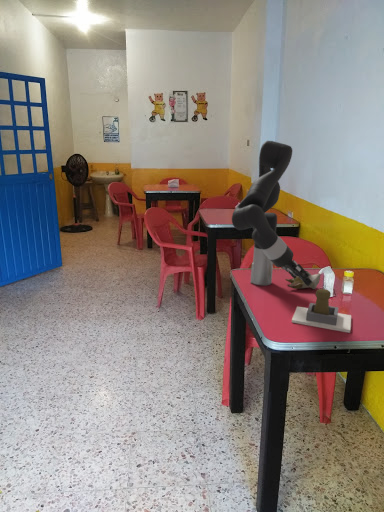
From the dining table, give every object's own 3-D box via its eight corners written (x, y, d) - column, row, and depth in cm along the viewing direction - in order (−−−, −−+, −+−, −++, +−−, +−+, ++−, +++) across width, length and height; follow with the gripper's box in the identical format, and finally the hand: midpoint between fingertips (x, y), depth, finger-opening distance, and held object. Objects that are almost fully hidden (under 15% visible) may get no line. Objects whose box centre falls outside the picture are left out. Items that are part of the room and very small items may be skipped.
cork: (329, 322, 143) (333, 293, 140) (312, 320, 144) (315, 291, 141) (328, 315, 149) (331, 288, 146) (311, 313, 150) (314, 286, 147)
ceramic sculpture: (322, 274, 173) (287, 273, 175) (321, 292, 175) (287, 292, 177) (318, 267, 183) (285, 267, 185) (317, 285, 185) (285, 284, 187)
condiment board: (291, 322, 144) (292, 312, 143) (297, 308, 157) (298, 299, 156) (349, 332, 137) (351, 322, 136) (350, 317, 150) (352, 307, 149)
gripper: (295, 247, 127) (322, 278, 133) (273, 237, 140) (298, 266, 146) (279, 264, 127) (307, 294, 133) (259, 253, 140) (285, 281, 146)
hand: (302, 280), depth 140 cm, fingers open, 8 cm apart
